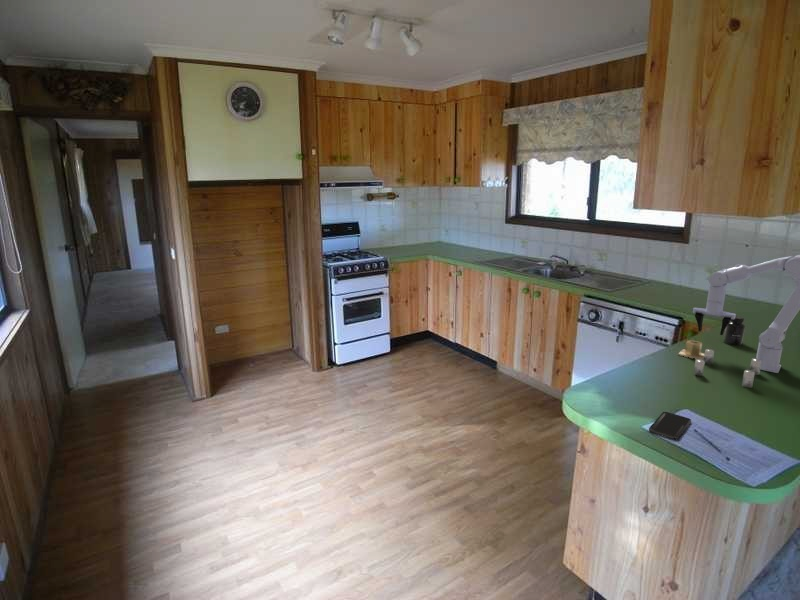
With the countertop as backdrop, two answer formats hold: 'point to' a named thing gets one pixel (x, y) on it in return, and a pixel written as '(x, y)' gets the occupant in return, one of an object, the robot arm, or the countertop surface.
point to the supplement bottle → (735, 331)
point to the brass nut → (693, 348)
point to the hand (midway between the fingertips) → (710, 332)
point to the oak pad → (682, 353)
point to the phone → (670, 425)
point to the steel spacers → (748, 374)
